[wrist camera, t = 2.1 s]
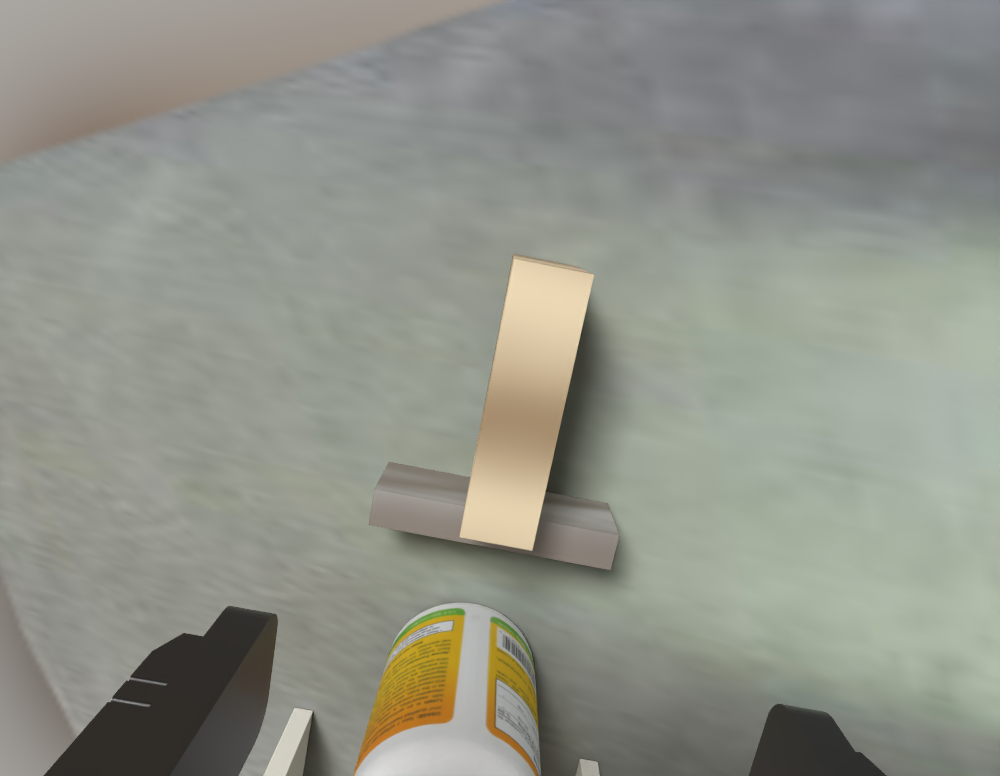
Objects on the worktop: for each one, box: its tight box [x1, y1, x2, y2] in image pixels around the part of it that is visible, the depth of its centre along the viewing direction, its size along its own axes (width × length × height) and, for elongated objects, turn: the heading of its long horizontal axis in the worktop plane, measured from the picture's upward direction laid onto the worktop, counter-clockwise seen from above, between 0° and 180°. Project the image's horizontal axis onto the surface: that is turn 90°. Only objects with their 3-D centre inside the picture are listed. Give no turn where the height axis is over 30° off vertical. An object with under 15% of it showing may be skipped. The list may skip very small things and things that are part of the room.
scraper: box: [369, 254, 619, 570], centre depth 23 cm, size 10×9×6 cm
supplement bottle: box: [353, 603, 541, 776], centre depth 23 cm, size 6×6×11 cm
